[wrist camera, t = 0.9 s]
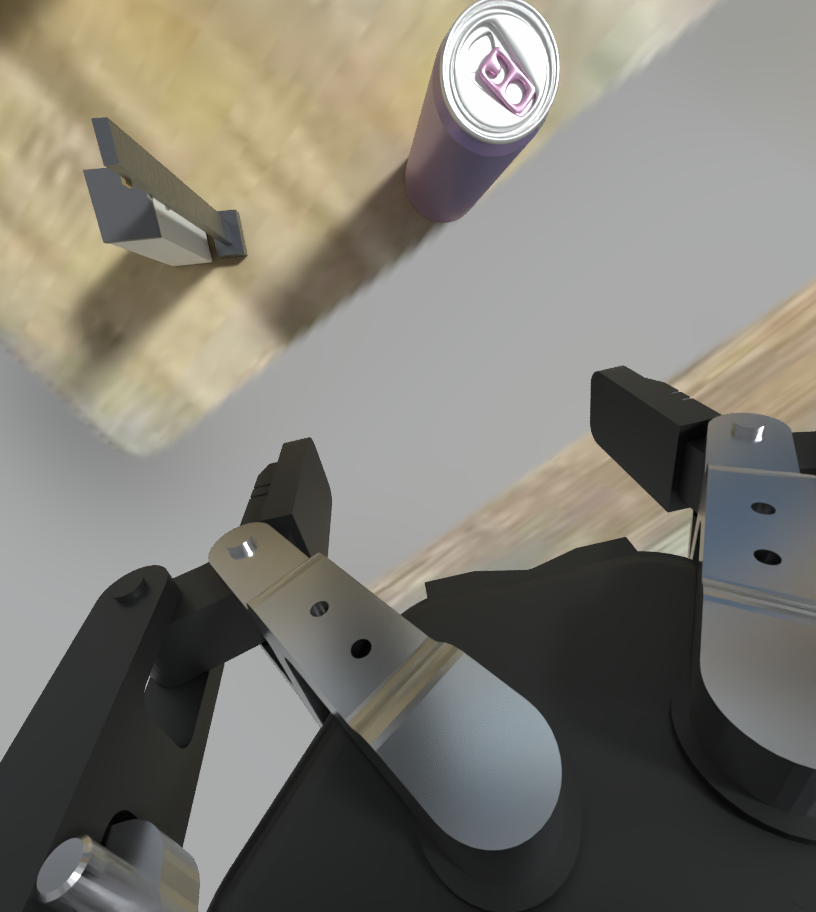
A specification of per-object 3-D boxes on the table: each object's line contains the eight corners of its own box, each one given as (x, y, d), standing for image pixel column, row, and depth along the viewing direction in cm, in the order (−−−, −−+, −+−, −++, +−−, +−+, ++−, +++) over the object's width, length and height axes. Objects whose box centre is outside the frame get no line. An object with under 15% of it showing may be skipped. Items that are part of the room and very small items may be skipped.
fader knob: (172, 267, 33) (103, 242, 24) (159, 215, 32) (82, 170, 23) (213, 262, 33) (159, 236, 25) (201, 211, 32) (141, 165, 24)
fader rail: (221, 258, 34) (91, 186, 17) (212, 215, 33) (66, 98, 17) (247, 255, 34) (142, 182, 17) (239, 213, 33) (120, 94, 17)
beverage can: (445, 241, 35) (504, 176, 21) (388, 186, 34) (409, 76, 19) (493, 178, 34) (590, 65, 20) (437, 120, 33) (497, -49, 18)
